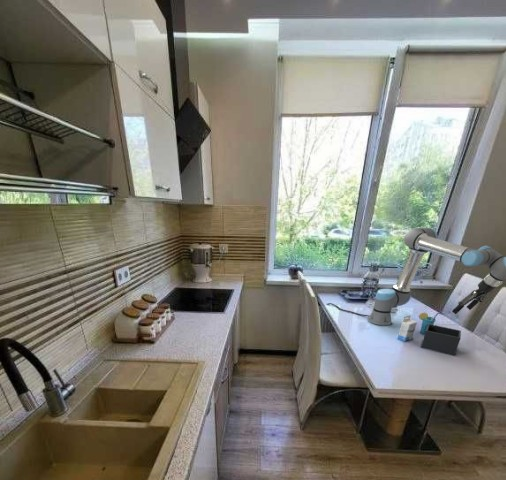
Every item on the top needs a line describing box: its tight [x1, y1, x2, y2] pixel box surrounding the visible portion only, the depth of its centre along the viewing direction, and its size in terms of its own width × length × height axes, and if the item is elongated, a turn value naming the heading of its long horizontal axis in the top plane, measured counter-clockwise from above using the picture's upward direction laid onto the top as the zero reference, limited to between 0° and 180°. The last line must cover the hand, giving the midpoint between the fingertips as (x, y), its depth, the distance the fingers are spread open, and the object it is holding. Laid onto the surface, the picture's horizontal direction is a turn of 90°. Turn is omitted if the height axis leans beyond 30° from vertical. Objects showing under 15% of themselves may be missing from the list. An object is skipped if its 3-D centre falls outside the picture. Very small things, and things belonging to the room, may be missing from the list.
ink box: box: [397, 314, 418, 342], centre depth 170 cm, size 8×5×15 cm, turn 123°
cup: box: [418, 312, 445, 336], centre depth 179 cm, size 14×8×15 cm, turn 84°
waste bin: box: [420, 324, 462, 356], centre depth 161 cm, size 17×13×11 cm
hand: (461, 310), depth 164 cm, fingers open, 13 cm apart
